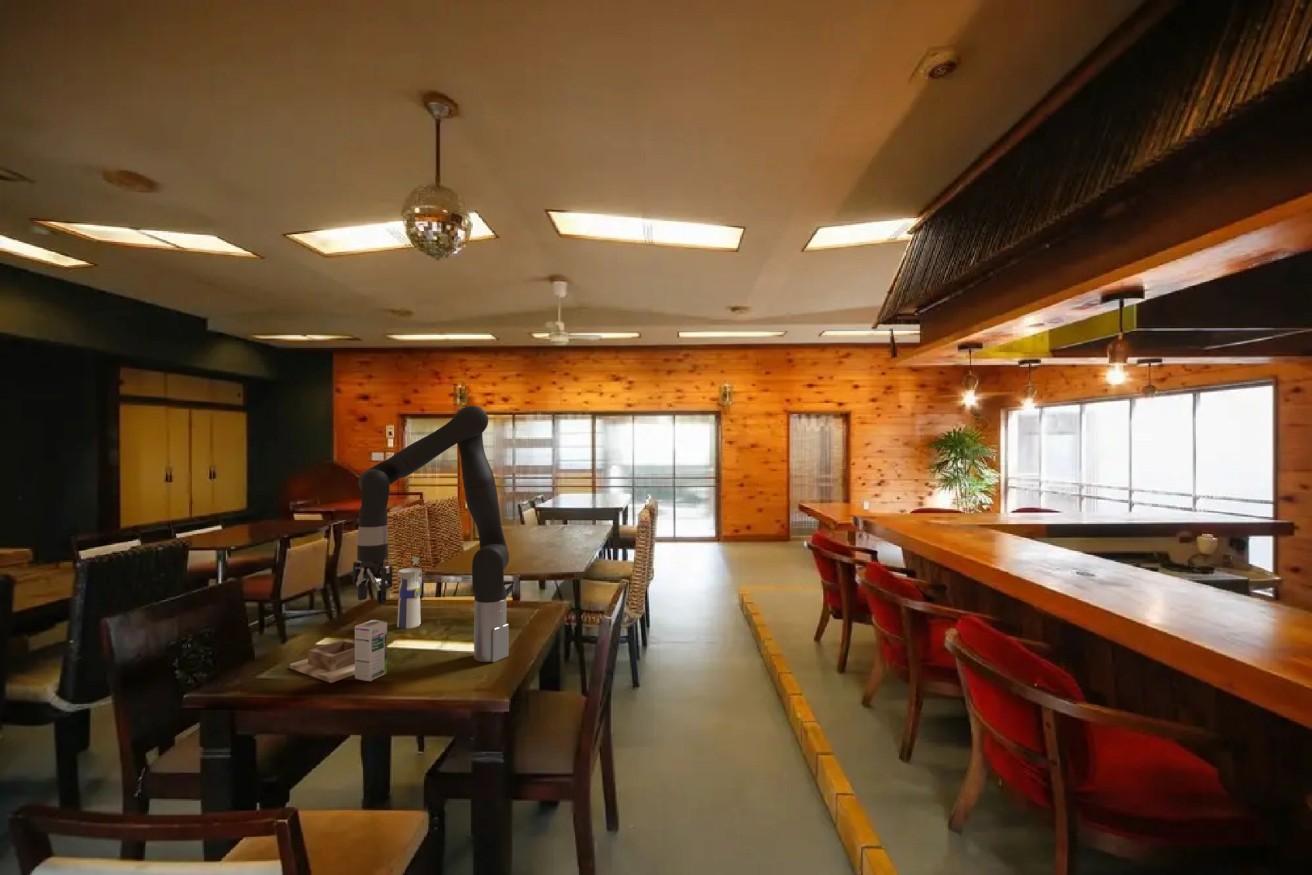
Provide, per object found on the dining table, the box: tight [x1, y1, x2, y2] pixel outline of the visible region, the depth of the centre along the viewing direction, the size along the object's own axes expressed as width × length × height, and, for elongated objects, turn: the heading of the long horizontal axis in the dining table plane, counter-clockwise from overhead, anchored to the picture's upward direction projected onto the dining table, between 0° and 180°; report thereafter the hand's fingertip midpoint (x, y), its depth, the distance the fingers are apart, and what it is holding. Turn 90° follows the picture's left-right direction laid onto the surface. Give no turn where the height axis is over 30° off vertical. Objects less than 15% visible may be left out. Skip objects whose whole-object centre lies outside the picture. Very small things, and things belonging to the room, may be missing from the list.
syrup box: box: [354, 619, 388, 682], centre depth 155 cm, size 6×6×14 cm
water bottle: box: [396, 555, 423, 629], centre depth 201 cm, size 8×9×25 cm
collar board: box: [289, 638, 355, 684], centre depth 163 cm, size 20×16×5 cm
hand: (371, 601), depth 156 cm, fingers open, 8 cm apart
